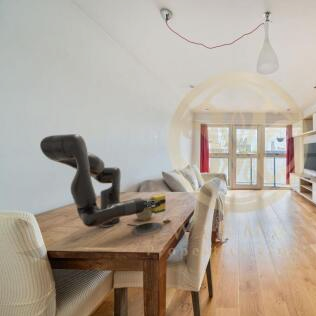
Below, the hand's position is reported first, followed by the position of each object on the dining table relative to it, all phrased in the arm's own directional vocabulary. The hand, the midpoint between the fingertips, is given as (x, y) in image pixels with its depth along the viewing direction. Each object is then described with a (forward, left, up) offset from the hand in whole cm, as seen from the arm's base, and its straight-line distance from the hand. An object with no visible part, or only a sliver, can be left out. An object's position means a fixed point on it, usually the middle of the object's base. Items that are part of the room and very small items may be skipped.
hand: (162, 200), depth 105 cm
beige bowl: (-15, +2, -14) cm, 21 cm away
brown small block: (+2, +1, -14) cm, 14 cm away
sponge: (-1, -3, -6) cm, 7 cm away
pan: (-6, -9, -14) cm, 18 cm away
